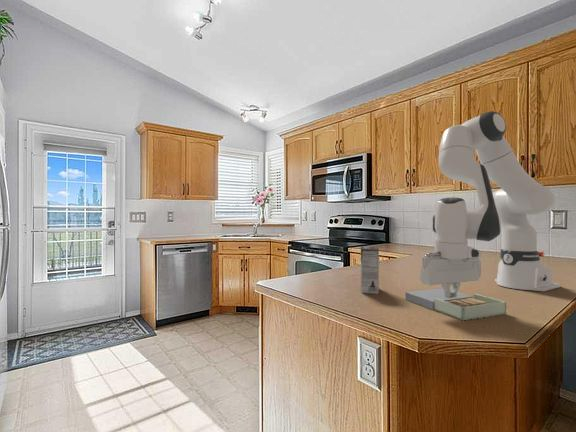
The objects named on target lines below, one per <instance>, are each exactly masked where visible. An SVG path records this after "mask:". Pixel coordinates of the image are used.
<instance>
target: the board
mask: <svg viewBox="0 0 576 432" xmlns="http://www.w3.org/2000/svg"><path fill="white" fill-rule="evenodd" d="M450 291H451V289H450ZM434 298H437V299H440V300H443V301H453V300H461V299H468V298H473V296H471V295H468V294H465V293H461V292H458V291H457V297H454V298H446V297H445V291H444V290H443V288H442V287H439V288H433V289H424V290H415V291H414V290H413V291H406V292H405V300H406V301H407V302H410V303H413V304H416V305H418V306H421V307H424V308H426V307H427V309H429V308H430V309H429V310H432V311H435V310H434Z"/></svg>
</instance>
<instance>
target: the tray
mask: <svg viewBox="0 0 576 432" xmlns="http://www.w3.org/2000/svg"><path fill="white" fill-rule="evenodd" d="M472 295H473V296H472V297H473V298H472V299H476V300H480V301H483V302H486V304H482V305H475V306H468V307H461V306H458V305H455V304H452V303H449V302H446V301H443V300H440V299H437V298H434V310H433V311H436V312H437V313H438V312H439V313H441V314H444V315H446V314H447V316H449V315H450V316H449V317H452V318H454V317H455V318H454V319H457V318H458V319H457V320H459V319H460V321H462V320H463V322H464V320H466V321H470V319H472V320H478V319H477V318H479V319H484V318H483V317H485V318H491V317H495V316H496V317H497V316H503V315H507V302H506V301H505V300H500V299H497V298H493V297H489V296H486V295H485V296H484V295H481V294H478V293H472ZM457 301H459V300H457ZM490 316H491V317H490Z"/></svg>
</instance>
